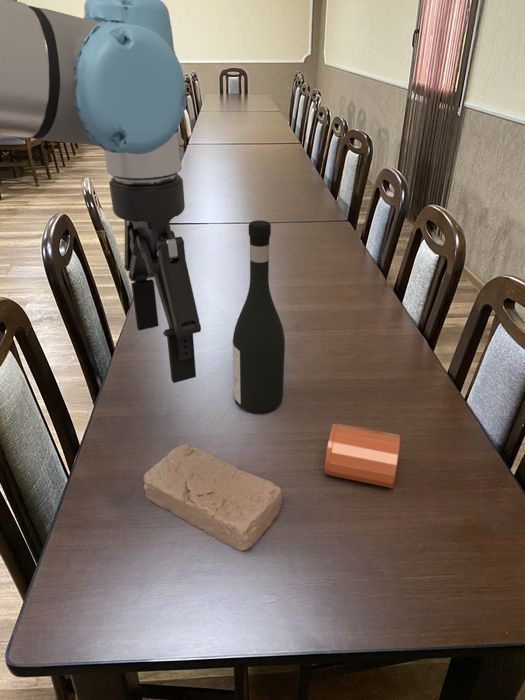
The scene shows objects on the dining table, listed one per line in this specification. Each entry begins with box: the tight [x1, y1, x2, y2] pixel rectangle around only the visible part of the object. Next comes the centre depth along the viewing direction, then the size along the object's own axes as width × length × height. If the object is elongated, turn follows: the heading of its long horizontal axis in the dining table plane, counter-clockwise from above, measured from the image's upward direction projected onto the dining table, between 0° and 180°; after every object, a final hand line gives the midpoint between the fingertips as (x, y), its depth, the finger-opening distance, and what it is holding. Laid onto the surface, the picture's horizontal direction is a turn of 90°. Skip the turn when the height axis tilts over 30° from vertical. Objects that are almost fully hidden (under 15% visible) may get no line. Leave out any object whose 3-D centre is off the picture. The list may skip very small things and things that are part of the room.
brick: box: [143, 443, 283, 551], centre depth 68 cm, size 17×8×5 cm, turn 57°
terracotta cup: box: [323, 422, 401, 489], centre depth 72 cm, size 7×7×9 cm
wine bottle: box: [232, 219, 286, 414], centre depth 81 cm, size 8×8×30 cm
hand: (164, 351), depth 66 cm, fingers open, 13 cm apart
